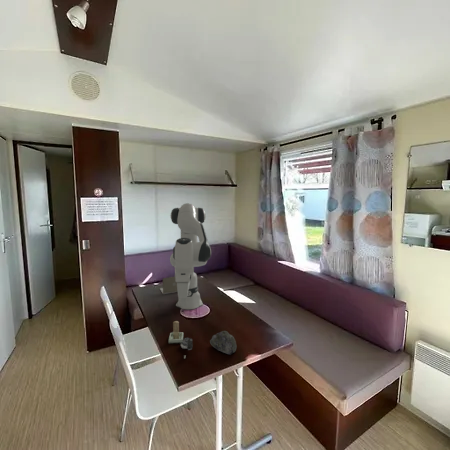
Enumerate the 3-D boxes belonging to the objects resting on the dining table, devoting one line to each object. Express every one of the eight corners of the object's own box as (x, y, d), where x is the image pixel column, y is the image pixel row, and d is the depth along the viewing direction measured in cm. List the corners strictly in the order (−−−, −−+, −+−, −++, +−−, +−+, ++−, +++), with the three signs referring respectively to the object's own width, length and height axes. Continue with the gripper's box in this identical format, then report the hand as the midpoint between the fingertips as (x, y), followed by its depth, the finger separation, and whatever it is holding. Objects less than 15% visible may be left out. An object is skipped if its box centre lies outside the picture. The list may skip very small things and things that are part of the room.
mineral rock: (208, 344, 133) (208, 326, 132) (227, 339, 138) (227, 322, 137) (219, 358, 122) (219, 338, 121) (239, 352, 127) (239, 333, 126)
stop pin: (173, 336, 139) (173, 321, 138) (179, 336, 140) (179, 321, 139) (173, 340, 136) (172, 323, 135) (178, 339, 137) (178, 323, 136)
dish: (170, 336, 141) (170, 332, 141) (183, 335, 142) (183, 332, 141) (168, 343, 134) (168, 339, 134) (182, 342, 135) (182, 339, 135)
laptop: (180, 286, 220) (180, 271, 219) (185, 290, 209) (184, 275, 208) (159, 289, 212) (159, 274, 211) (163, 294, 201) (162, 278, 200)
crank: (181, 341, 133) (181, 331, 133) (189, 340, 135) (189, 329, 134) (186, 353, 124) (186, 342, 123) (195, 351, 126) (194, 340, 125)
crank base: (181, 342, 135) (181, 340, 135) (192, 342, 136) (192, 340, 135) (178, 358, 122) (178, 356, 122) (191, 358, 122) (190, 356, 122)
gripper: (180, 266, 131) (180, 292, 132) (174, 279, 111) (175, 310, 112) (192, 266, 131) (192, 292, 133) (189, 279, 111) (189, 309, 113)
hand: (184, 300), depth 122 cm, fingers open, 8 cm apart
